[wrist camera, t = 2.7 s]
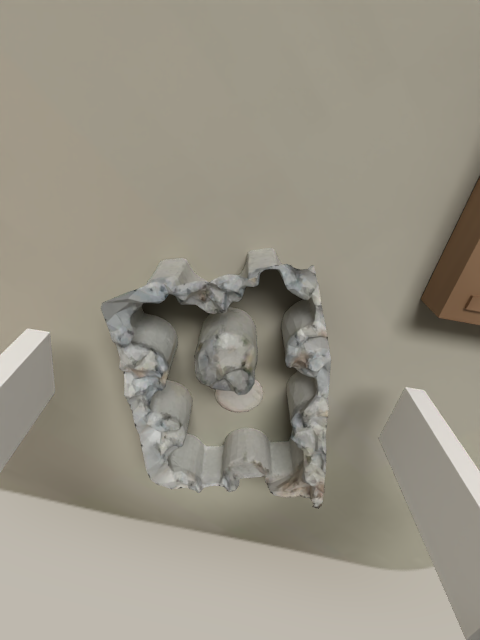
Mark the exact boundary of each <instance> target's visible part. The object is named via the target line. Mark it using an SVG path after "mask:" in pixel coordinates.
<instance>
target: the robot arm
mask: <svg viewBox="0 0 480 640" xmlns="http://www.w3.org/2000/svg"><path fill="white" fill-rule="evenodd" d="M54 393H55V384H54V372H53V360H52V348H51V336H50V332H46V331H40V330H33V329H26V330H25V331H24V332H23V333H22V334H21V335H20V336H19V337H18V338H17V339H16V340H15V341H14V342H13V343H12V344H11V345H10V346H9V347H8V348H7V349H6V350H5V351H4V352H3V353H2V354H1V355H0V472H1V471H2V469H3V468H4V466H5V465H6V463H7V462H8V460H9V459H10V458H11V456H12V455H13V453H14V452H15V450H16V449H17V447H18V446H19V444H20V443H21V441H22V440H23V439H24V437H25V436H26V434H27V433H28V431H29V430H30V428H31V427H32V425H33V424H34V423H35V421H36V420H37V418H38V417H39V415H40V414H41V412H42V411H43V409H44V408H45V407H46V405H47V404H48V402H49V401H50V399H51V398H52V396H53V395H54ZM379 440H380V443H381V445H382V447H383V450H384V452H385V454H386V457H387V459H388V461H389V463H390V466H391V468H392V470H393V473H394V475H395V477H396V480H397V482H398V484H399V486H400V489H401V491H402V493H403V496H404V498H405V500H406V503H407V505H408V507H409V509H410V512H411V514H412V516H413V519H414V521H415V523H416V526H417V528H418V530H419V533H420V535H421V537H422V539H423V542H424V544H425V546H426V549H427V551H428V553H429V556H430V558H431V560H432V562H433V565H434V567H435V569H436V572H437V574H438V576H439V578H440V581H441V583H442V585H443V588H444V590H445V592H446V595H447V597H448V599H449V602H450V604H451V606H452V609H453V611H454V613H455V615H456V618H457V620H458V622H459V625H460V627H461V629H462V632H463V634H464V636H465V638H466V640H480V471H479V470H478V468H477V467H476V465H475V464H474V463H473V461H472V460H471V458H470V457H469V455H468V454H467V452H466V451H465V449H464V448H463V446H462V445H461V443H460V442H459V441H458V439H457V438H456V436H455V435H454V433H453V432H452V430H451V429H450V427H449V426H448V424H447V423H446V421H445V420H444V419H443V417H442V416H441V414H440V413H439V411H438V410H437V408H436V407H435V405H434V404H433V402H432V401H431V399H430V398H429V397H428V395H427V394H426V392H425V391H424V390H420V389H414V388H407V387H405V389H404V391H403V392H402V394H401V396H400V398H399V400H398V402H397V404H396V406H395V408H394V409H393V411H392V413H391V415H390V417H389V419H388V421H387V423H386V425H385V426H384V428H383V430H382V432H381V434H380V436H379Z"/></svg>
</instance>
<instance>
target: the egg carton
mask: <svg viewBox="0 0 480 640" xmlns="http://www.w3.org/2000/svg"><path fill="white" fill-rule="evenodd" d="M265 269H277V270H278V271H279V272H280V274H281V277H282V279H283V281H284V284H285V286H286V288H287V289H288V290H289V291H290V292H292V293H293V294H295V295H296V296H298V297H300V298H302V299H303V300H302V301H299V302H297V303H295V304H294V305H292V306H291V307H290V308H289V309H288V310H287V311H286V312H285V313H284V316H283V320H282V324H281V326H282V335H283V342H284V349H285V355H286V358H285V362H286V367H289V368H291V367H294V368H296V369H297V370H298V371H297V372H296V373H294V374H293V375H292V376H291V378H290V379H289V381H288V383H287V388H286V390H287V399H288V406H289V413H290V422H291V426H292V428H293V429H292V434H291V437H290V439H289V441H284V442H270V441H269V440H268V438H267V436H266V435H265V434H264V433H263V432H261V431H259V430H257V429H254V428H241V429H237V430H235V431H232V432H231V433H230V434H229V435H228V436H227V437H226V439H225V442H224V445H223V446H205V445H204V444H203V443H202V441H201V440H200V439H198V438H197V437H196V436H194V435H191V434H188V433H187V429H188V424H189V418H190V413H191V407H192V402H193V398H192V396H191V393H190V392H189V391H188V389H187V388H186V387H185V386H183V385H182V384H180V383H178V382H175V381H170V380H167V378H168V374H169V371H170V368H171V364H172V361H173V358H174V355H175V351H176V348H177V346H178V338H177V333H176V331H175V329H174V328H173V326H172V325H171V324H170V323H169V322H168V321H166V320H165V319H162V318H160V317H158V316H155V315H149V314H145V313H144V312H143V310H142V307H141V306H142V304H143V303H161V302H162V301H164V300H165V299H166V297H167V296H168V295H169V294H172V295H175V297H176V298H177V300H178V302H179V303H180V304H182V305H191V304H196V305H197V306H198V307H200V308H201V309H203V310H204V311H205V312H207V313H210V314H209V315H208V317H207V318H206V319H205V320H204V322H203V325H202V329H201V333H200V337H199V341H198V346H197V349H196V352H195V355H194V357H195V373H196V377H197V379H198V380H199V381H200V382H201V383H202V384H205V385H207V386H209V387H211V388H213V389H216V391H215V398H216V400H217V402H218V403H219V404H220V405H221V406H222V407H223V408H225V409H227V410H229V411H233V412H245V411H249V410H250V409H253V408H254V407H256V406H258V404H259V403H260V402H261V400H262V397H263V390H262V386H261V384H260V383H259V382H258V381H257V380H256V379H255V372H254V371H255V367H256V364H257V353H258V350H257V336H256V326H255V323H254V321H253V319H252V318H251V317H250V316H249V314H248V313H246V312H245V311H243V310H241V309H238V308H232V307H229V305H230V303H232V302H234V301H237V302H238V301H240V300H241V299H242V296H243V293H244V290H245V288H246V287H255V286H257V285H259V278H260V273H261V272H262V271H264V270H265ZM101 310H102V313H103V315H104V318H105V321H106V323H107V326H108V329H109V332H110V335H111V338H112V341H113V342H114V343H115V344H116V346H117V349H118V352H119V357H120V366H119V368H120V370H122V371H124V396H125V398H126V399H127V401H128V403H129V405H130V408H131V410H132V413H133V418H134V422H135V427H136V429H137V431H138V433H139V435H140V441H141V446H142V451H143V456H144V461H145V466H146V471H147V473H148V475H149V477H150V479H151V480H152V481H153V482H155V483H156V484H158V485H161V486H164V487H167V488H170V489H178V488H189V489H192V490H195V491H197V492H198V493H200V492H201V490H202V489H203V488H204V487H208V486H222V487H225V488H226V490H227V491H228V492H231V491H235V490H236V489H237V487H238V486H239V480H240V479H241V478H253V477H262V476H265V478H266V479H265V482H266V483H267V485H268V488H269V490H270V492H271V493H272V494H273V495H276V496H281V497H297V496H298V495H300V496H302V497H306V498H311V501H312V502H313V504H314V505H313V506H312V507H315V508H318V509H319V507H320V506H321V505H322V503H323V492H324V488H325V474H326V427H327V419H328V410H329V409H328V392H329V379H330V365H331V357H330V351H329V344H328V337H327V331H326V325H325V320H324V315H323V310H322V305H321V298H320V291H319V285H318V282H317V278H316V274H315V267H314V266H313V265H312V266H311V267H309V268H308V269H303V270H300V269H296V268H293V267H292V266H291V265H288V264H282V263H281V262H280V260H279V258H278V256H277V254H276V252H275V250H274V249H273V248H269V249H261V250H251V251H249V252H248V255H247V261H246V264H245V267H244V269H243V271H242V272H241V273H240V274H239V275H229V274H228V275H225V276H221V277H218V278H216V279H214V280H212V281H211V282H208V281H206V280H204V279H203V278H201V277H200V276H198V275H197V274H196V273H195V272H194V271H193V269H192V268H191V266H190V264H189V263H188V261H187V259H184V258H178V259H169V260H166V259H165V260H163V261H160V263H159V265H158V267H157V269H156V270H155V272H154V273H153V275H152V276H151V278H150V279H149V281H148V282H147V285H145V286H143V287H141V288H139V289H136V290H133V291H130V292H127V293H125V294H122V295H120V296H117V297H115V298H113V299H110V300H108V301H105V302H103V303H102V306H101Z"/></svg>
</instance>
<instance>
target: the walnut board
mask: <svg viewBox="0 0 480 640" xmlns="http://www.w3.org/2000/svg"><path fill="white" fill-rule="evenodd" d="M421 300H422V301H423V303H424V304H425V305H426V306H427V307H428V308H429V309H430V310H431V311H432V312H433V313H434V314H435V315H436V316H437V317H438V318H443V319H448V320H454V321H459V322H465V323H470V324H476V325H480V177H479V179H478V181H477V183H476V186H475V188H474V190H473V192H472V194H471V196H470V198H469V200H468V202H467V204H466V206H465V208H464V210H463V212H462V215H461V217H460V219H459V221H458V223H457V225H456V227H455V229H454V231H453V233H452V235H451V237H450V239H449V242H448V244H447V246H446V248H445V250H444V252H443V254H442V256H441V258H440V260H439V262H438V264H437V266H436V269H435V271H434V273H433V275H432V277H431V279H430V281H429V283H428V285H427V287H426V289H425V291H424V293H423V295H422V298H421Z"/></svg>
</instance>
